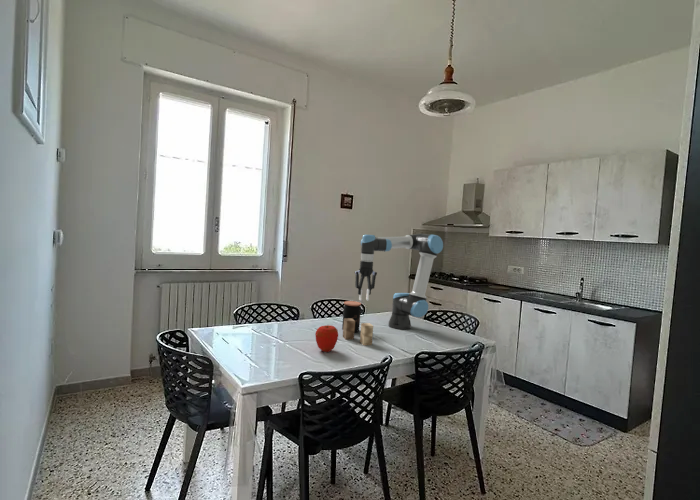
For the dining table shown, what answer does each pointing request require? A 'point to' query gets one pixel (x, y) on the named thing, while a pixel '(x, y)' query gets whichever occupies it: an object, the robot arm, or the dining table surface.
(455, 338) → the dining table surface
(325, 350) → the apple
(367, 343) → the beech block
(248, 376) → the dining table surface
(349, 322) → the walnut block
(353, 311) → the coffee jar
